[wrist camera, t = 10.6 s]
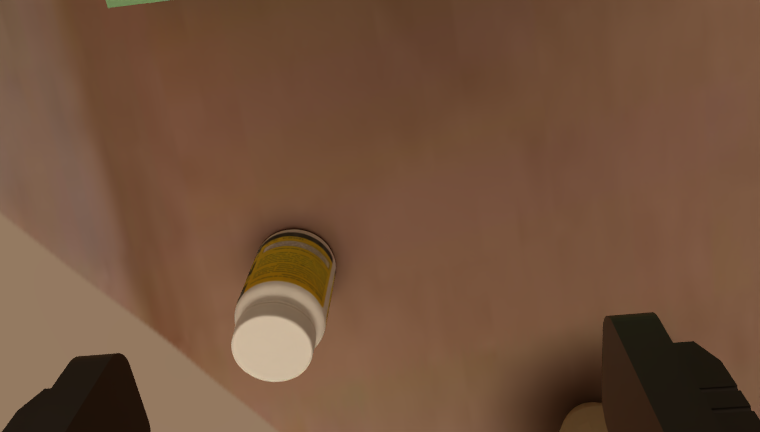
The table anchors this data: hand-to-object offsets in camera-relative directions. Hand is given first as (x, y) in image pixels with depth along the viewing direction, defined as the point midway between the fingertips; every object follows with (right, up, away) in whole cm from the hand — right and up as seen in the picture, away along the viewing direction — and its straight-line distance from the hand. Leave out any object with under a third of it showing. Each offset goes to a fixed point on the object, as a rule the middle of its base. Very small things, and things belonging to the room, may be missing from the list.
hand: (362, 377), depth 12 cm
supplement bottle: (-5, 0, +29) cm, 30 cm away
